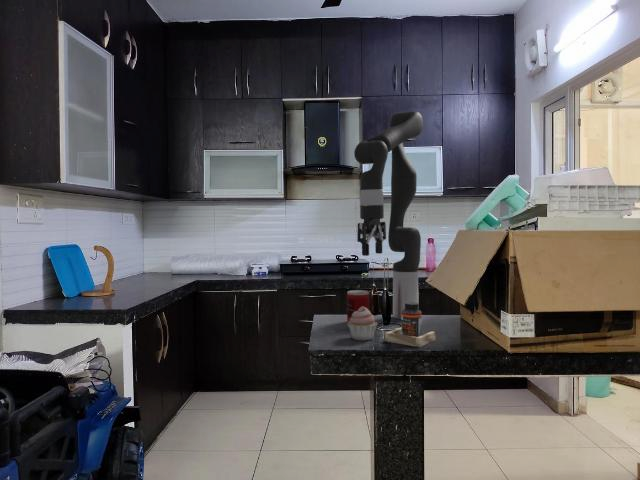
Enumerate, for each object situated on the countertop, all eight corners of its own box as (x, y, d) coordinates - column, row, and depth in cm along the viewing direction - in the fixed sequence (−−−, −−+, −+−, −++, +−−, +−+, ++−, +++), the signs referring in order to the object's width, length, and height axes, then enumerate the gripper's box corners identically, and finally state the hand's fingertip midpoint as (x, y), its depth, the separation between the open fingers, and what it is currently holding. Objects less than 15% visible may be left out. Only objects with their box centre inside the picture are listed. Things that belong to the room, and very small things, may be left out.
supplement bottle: (399, 341, 150) (399, 304, 149) (403, 337, 155) (403, 300, 155) (419, 343, 148) (419, 305, 147) (422, 338, 153) (423, 301, 153)
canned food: (372, 321, 179) (372, 290, 178) (363, 325, 172) (362, 293, 171) (353, 319, 183) (353, 289, 182) (343, 323, 176) (343, 292, 175)
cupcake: (342, 340, 151) (342, 307, 151) (353, 334, 160) (353, 302, 159) (372, 343, 148) (372, 309, 147) (381, 336, 156) (381, 304, 156)
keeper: (401, 334, 158) (401, 327, 158) (435, 340, 151) (435, 331, 151) (385, 341, 150) (385, 332, 150) (419, 347, 143) (419, 338, 143)
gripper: (372, 204, 169) (373, 252, 170) (349, 204, 158) (350, 255, 159) (392, 203, 165) (393, 253, 166) (370, 203, 154) (371, 256, 154)
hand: (372, 254), depth 162 cm, fingers open, 8 cm apart
